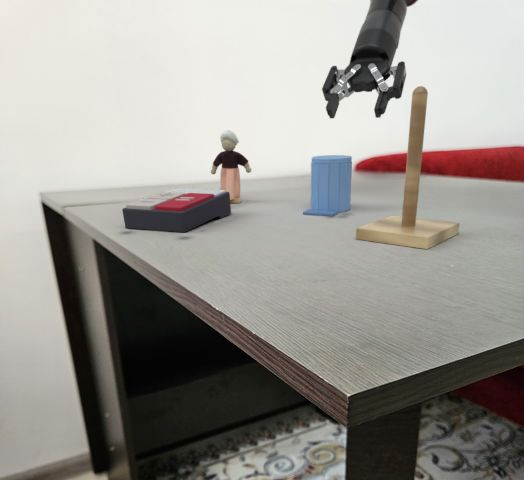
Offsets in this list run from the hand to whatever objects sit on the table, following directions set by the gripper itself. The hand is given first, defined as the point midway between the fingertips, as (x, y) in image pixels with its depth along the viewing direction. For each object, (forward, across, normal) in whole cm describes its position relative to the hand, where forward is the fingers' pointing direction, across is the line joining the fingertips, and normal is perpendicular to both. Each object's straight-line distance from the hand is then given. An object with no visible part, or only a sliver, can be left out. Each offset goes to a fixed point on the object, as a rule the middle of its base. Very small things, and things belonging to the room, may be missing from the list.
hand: (353, 114), depth 92 cm
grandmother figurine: (+17, -20, +4) cm, 27 cm away
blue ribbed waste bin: (+18, 0, +2) cm, 19 cm away
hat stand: (+29, +17, -8) cm, 34 cm away
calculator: (+30, -19, -9) cm, 37 cm away
